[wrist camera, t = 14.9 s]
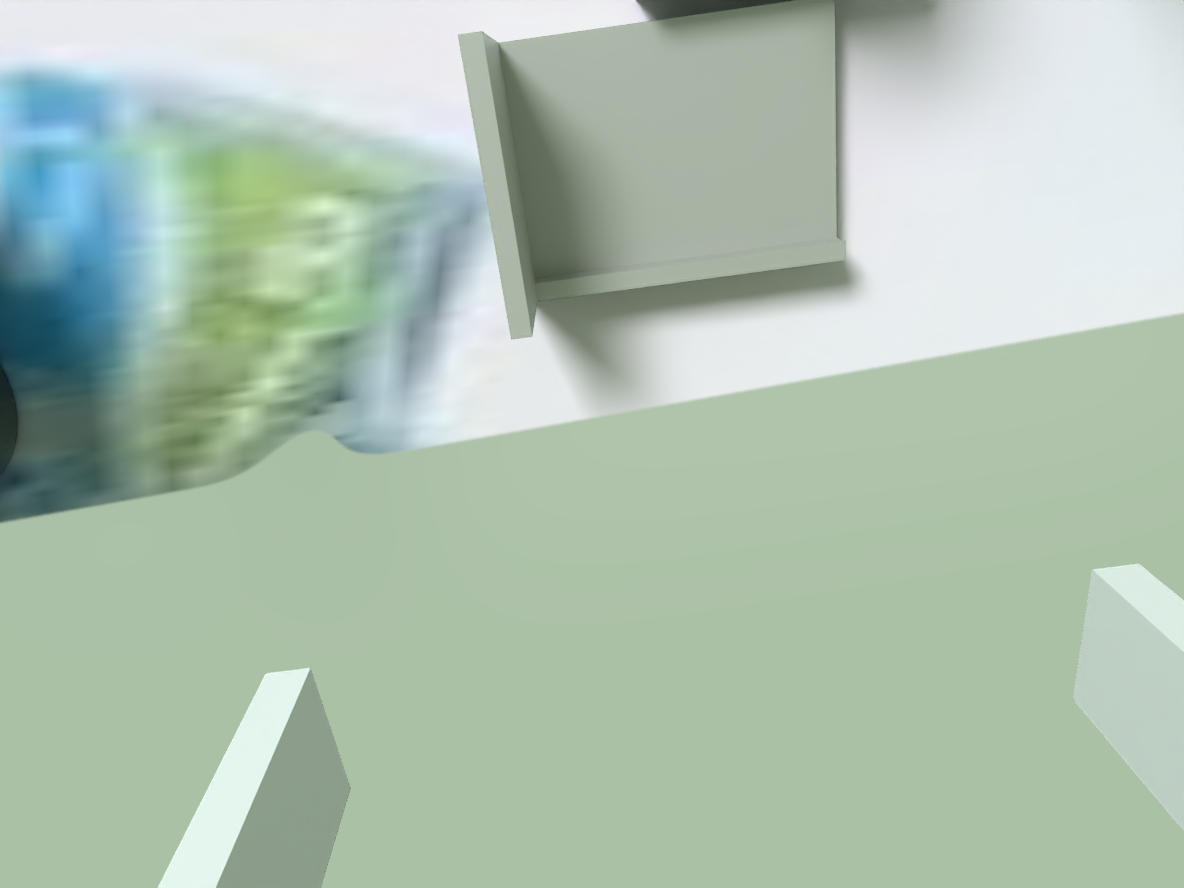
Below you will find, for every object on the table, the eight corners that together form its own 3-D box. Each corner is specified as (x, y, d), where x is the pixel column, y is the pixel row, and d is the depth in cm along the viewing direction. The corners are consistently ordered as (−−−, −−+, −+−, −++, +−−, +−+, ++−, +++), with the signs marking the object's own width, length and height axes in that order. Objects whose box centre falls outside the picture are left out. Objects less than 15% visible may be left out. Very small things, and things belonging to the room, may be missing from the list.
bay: (522, 291, 48) (511, 339, 38) (481, 47, 42) (457, 34, 33) (829, 250, 47) (892, 288, 38) (825, -3, 42) (898, -29, 33)
